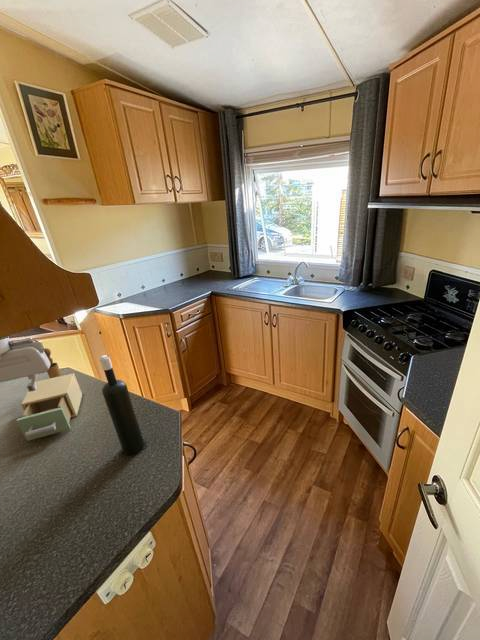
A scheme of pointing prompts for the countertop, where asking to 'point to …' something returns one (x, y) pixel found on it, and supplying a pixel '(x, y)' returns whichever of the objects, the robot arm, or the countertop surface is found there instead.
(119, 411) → the wine bottle
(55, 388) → the cabinet
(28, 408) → the drawer
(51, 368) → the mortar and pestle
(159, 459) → the countertop surface
